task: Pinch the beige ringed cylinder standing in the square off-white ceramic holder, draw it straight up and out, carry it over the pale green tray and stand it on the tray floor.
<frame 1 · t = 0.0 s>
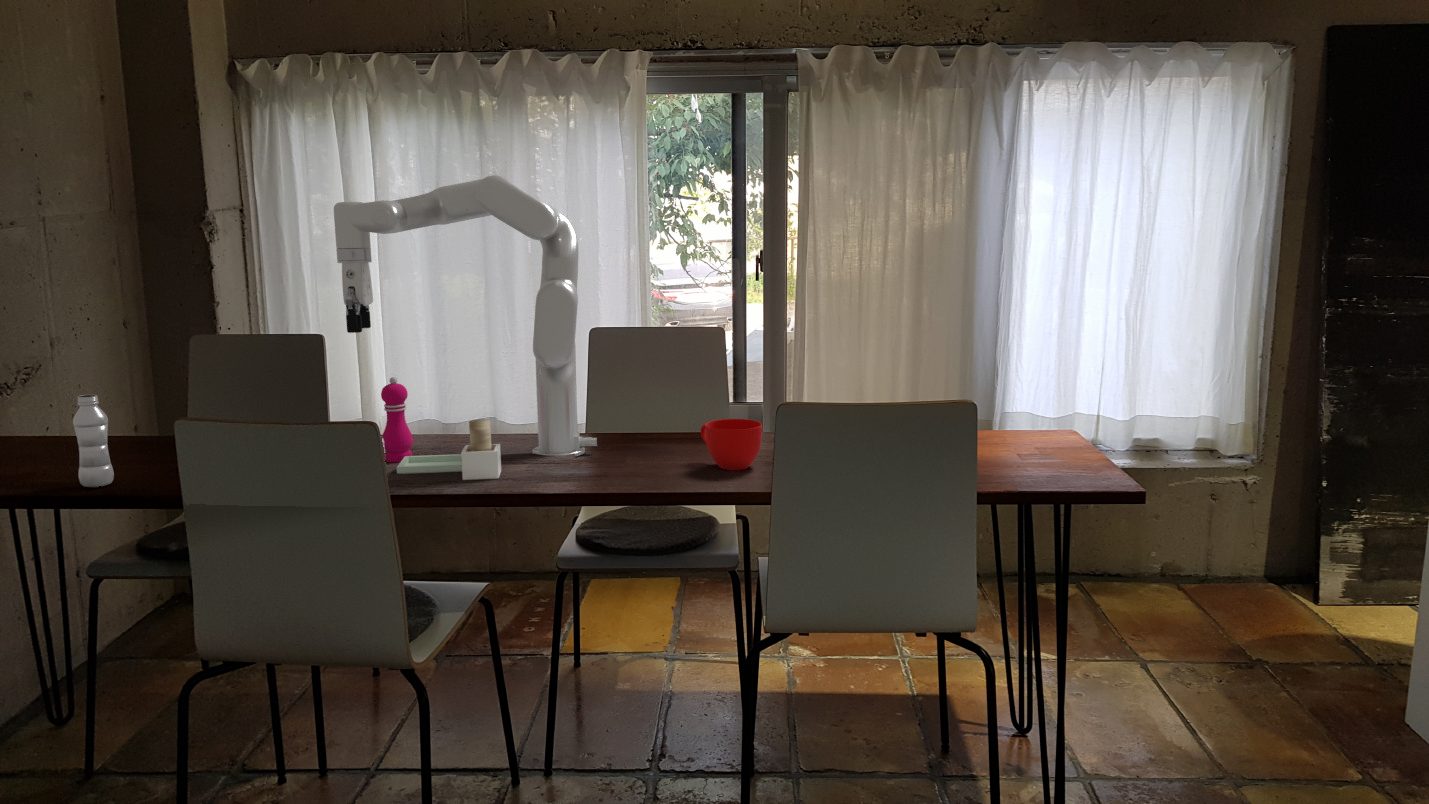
hand: (359, 330, 244), 31 cm above the table, tool pointing down, fingers open, 9 cm apart
holder: (482, 479, 231), on the table
paper bowls: (351, 475, 236), on the table
tray: (437, 471, 239), on the table
plastic bottle: (97, 487, 228), on the table
pepper mill: (398, 460, 251), on the table
beige ringed cylinder: (482, 474, 230), point 1 cm above the table, touching holder
ceramic cup: (727, 466, 241), on the table
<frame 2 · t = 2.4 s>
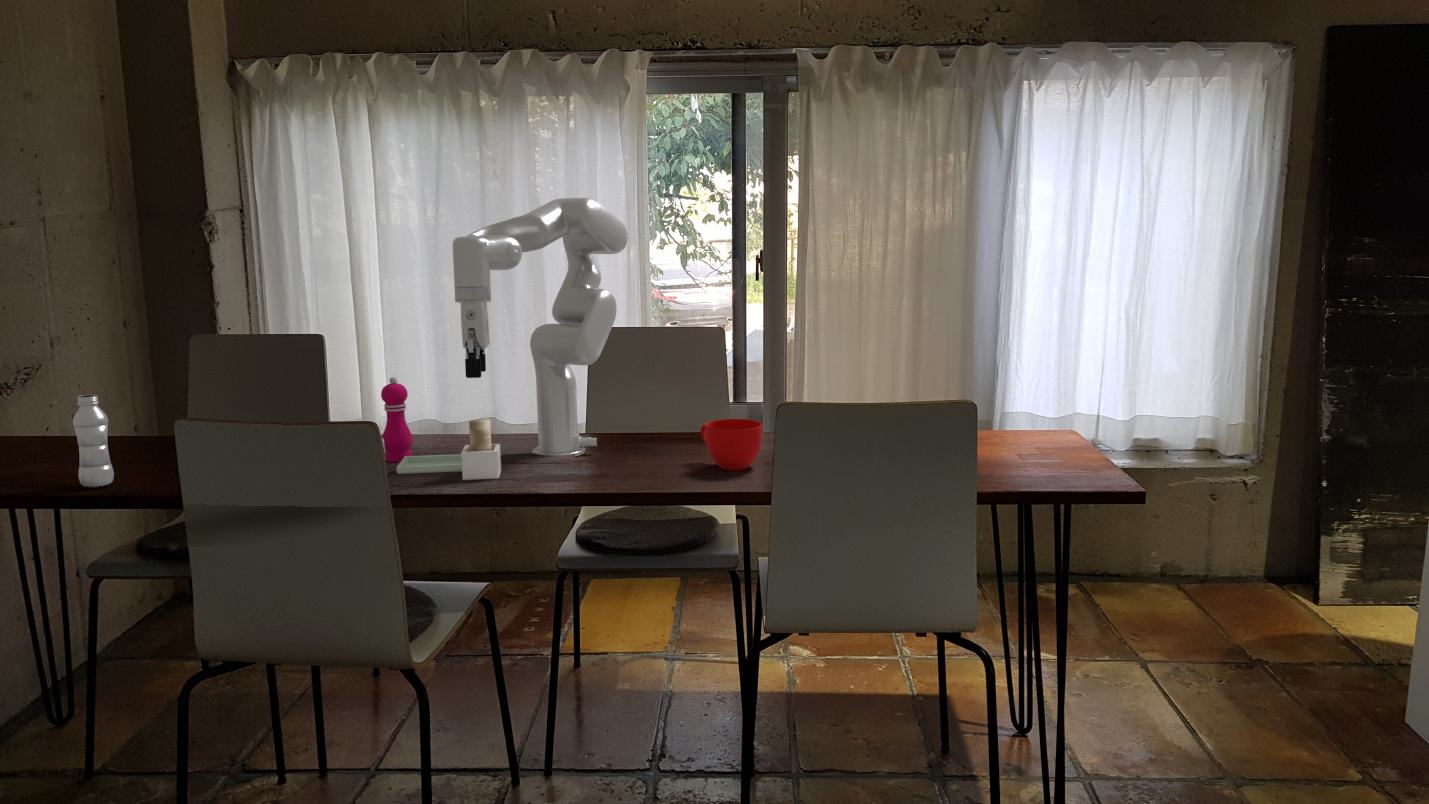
hand: (476, 374, 226), 23 cm above the table, tool pointing down, fingers open, 9 cm apart
nothing on the table moved.
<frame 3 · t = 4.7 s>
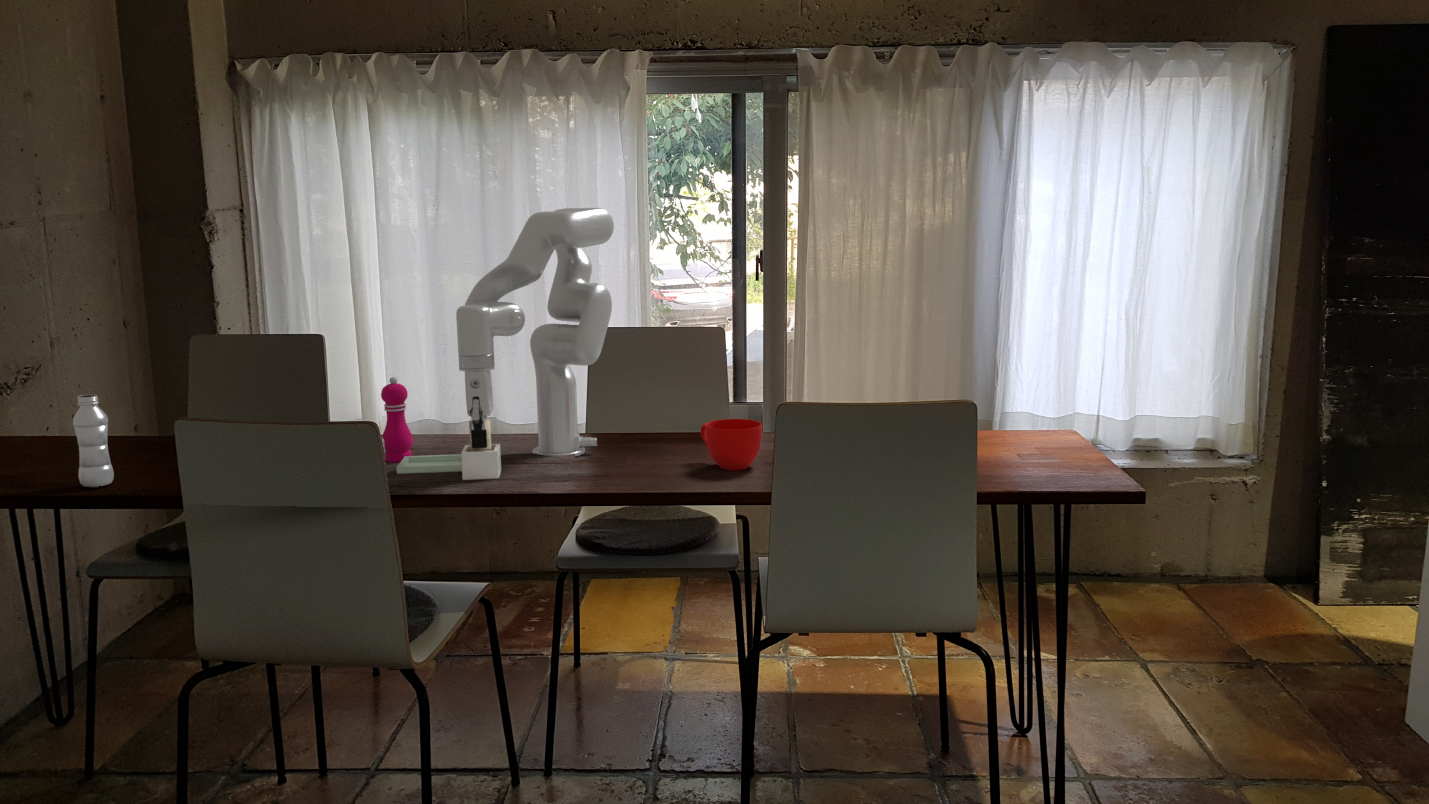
hand: (480, 444, 229), 8 cm above the table, tool pointing down, fingers closed on beige ringed cylinder, 4 cm apart
beige ringed cylinder: (482, 474, 230), point 1 cm above the table, touching gripper, holder
everything else where it was.
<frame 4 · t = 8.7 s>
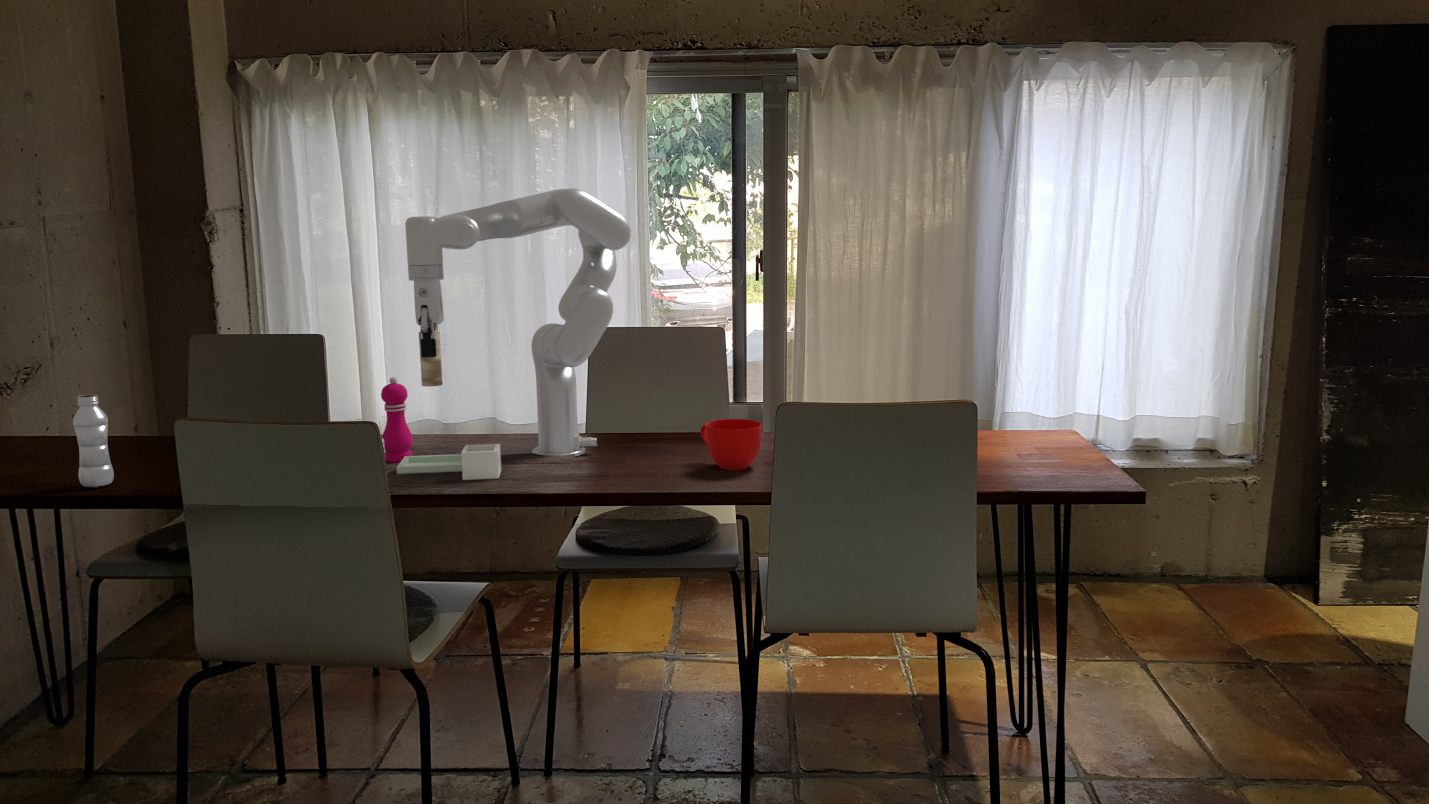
hand: (430, 354, 234), 27 cm above the table, tool pointing down, fingers closed on beige ringed cylinder, 4 cm apart
beige ringed cylinder: (432, 384, 235), point 20 cm above the table, touching gripper
everything else where it was.
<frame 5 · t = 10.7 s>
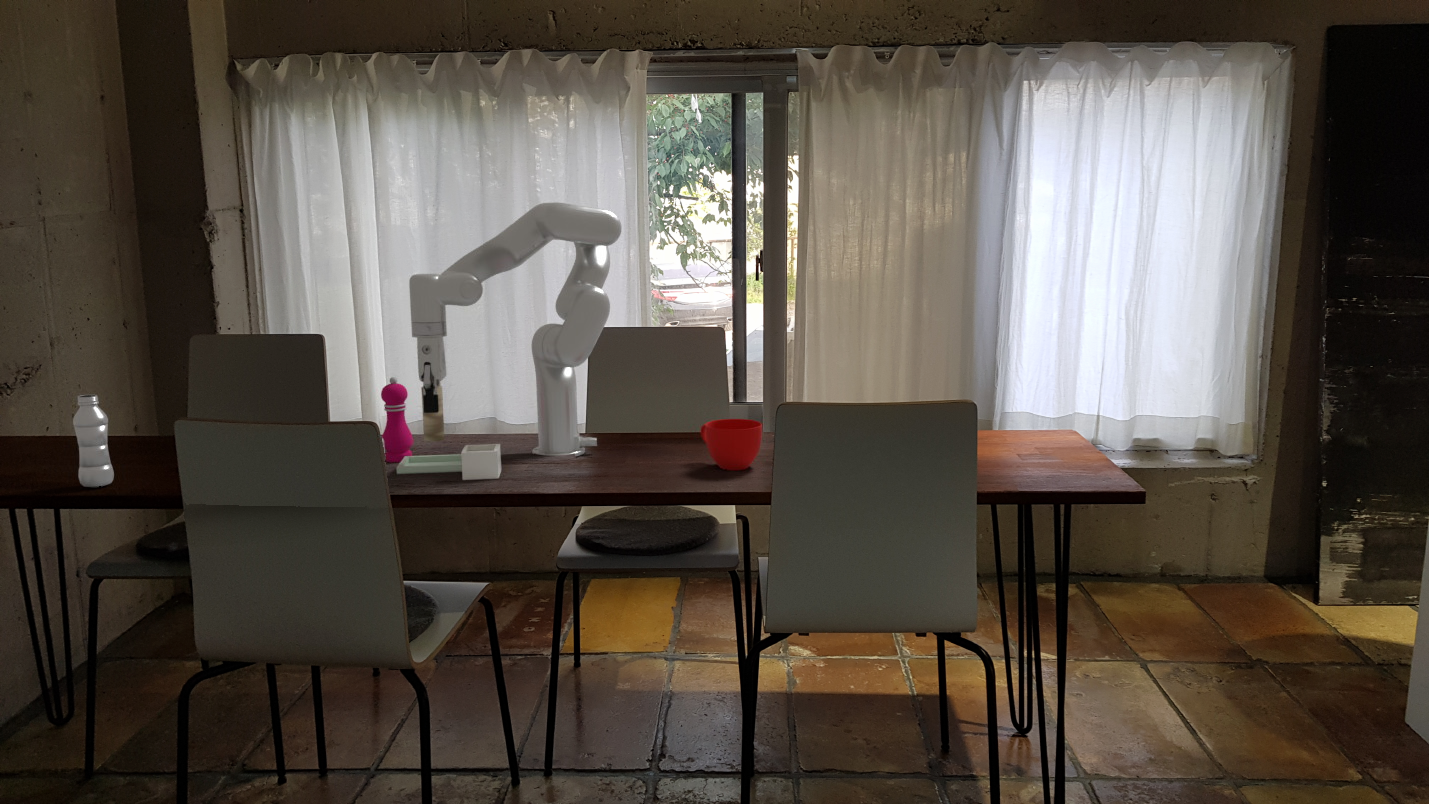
hand: (433, 409, 236), 14 cm above the table, tool pointing down, fingers closed on beige ringed cylinder, 4 cm apart
beige ringed cylinder: (434, 439, 237), point 7 cm above the table, touching gripper
everything else where it was.
when the fingers open (10 cm above the table, at t = 12.5 s): beige ringed cylinder drops 2 cm, resting on tray.
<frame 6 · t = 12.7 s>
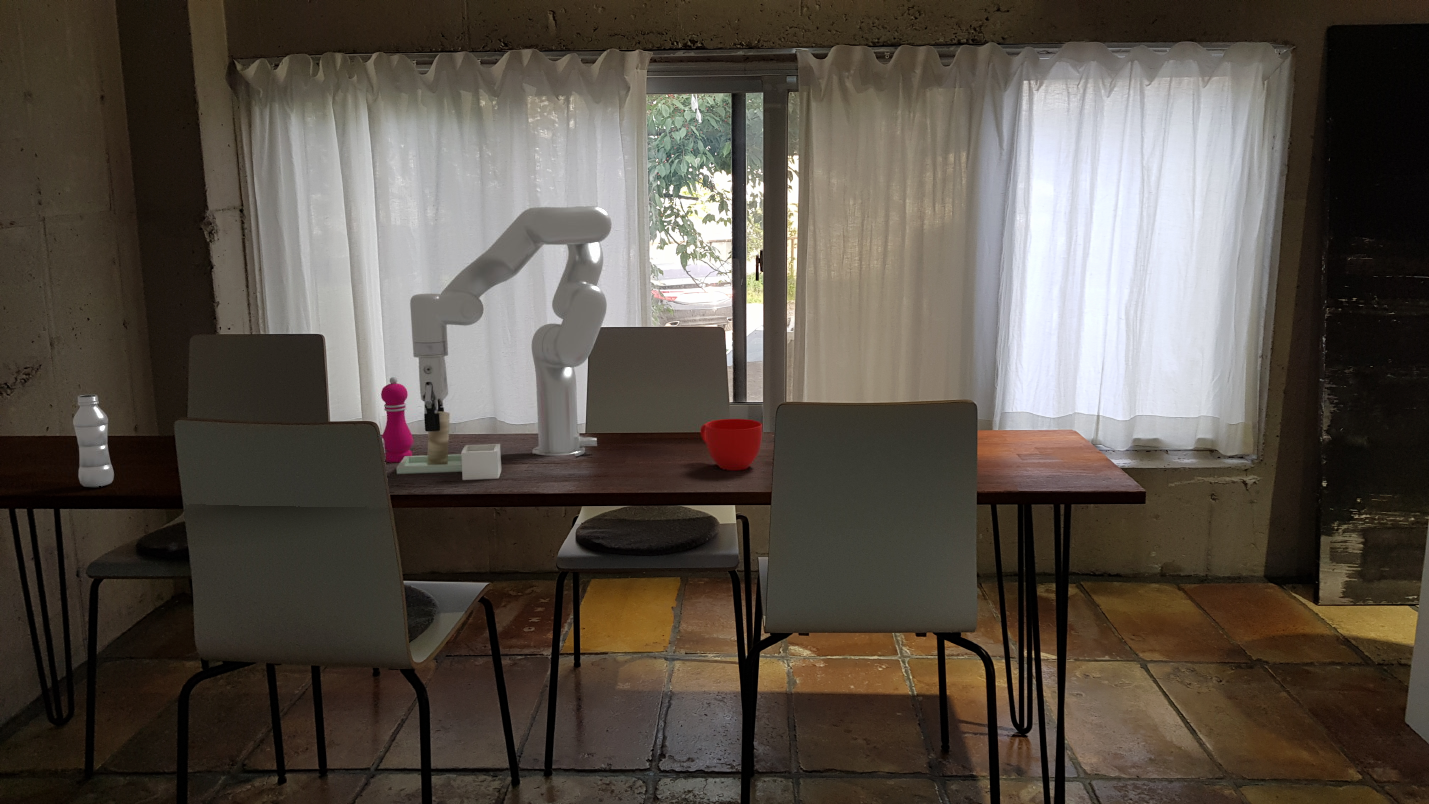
hand: (435, 427, 237), 10 cm above the table, tool pointing down, fingers open, 6 cm apart
beige ringed cylinder: (437, 464, 238), point 1 cm above the table, tilted 5°, touching tray
everything else where it was.
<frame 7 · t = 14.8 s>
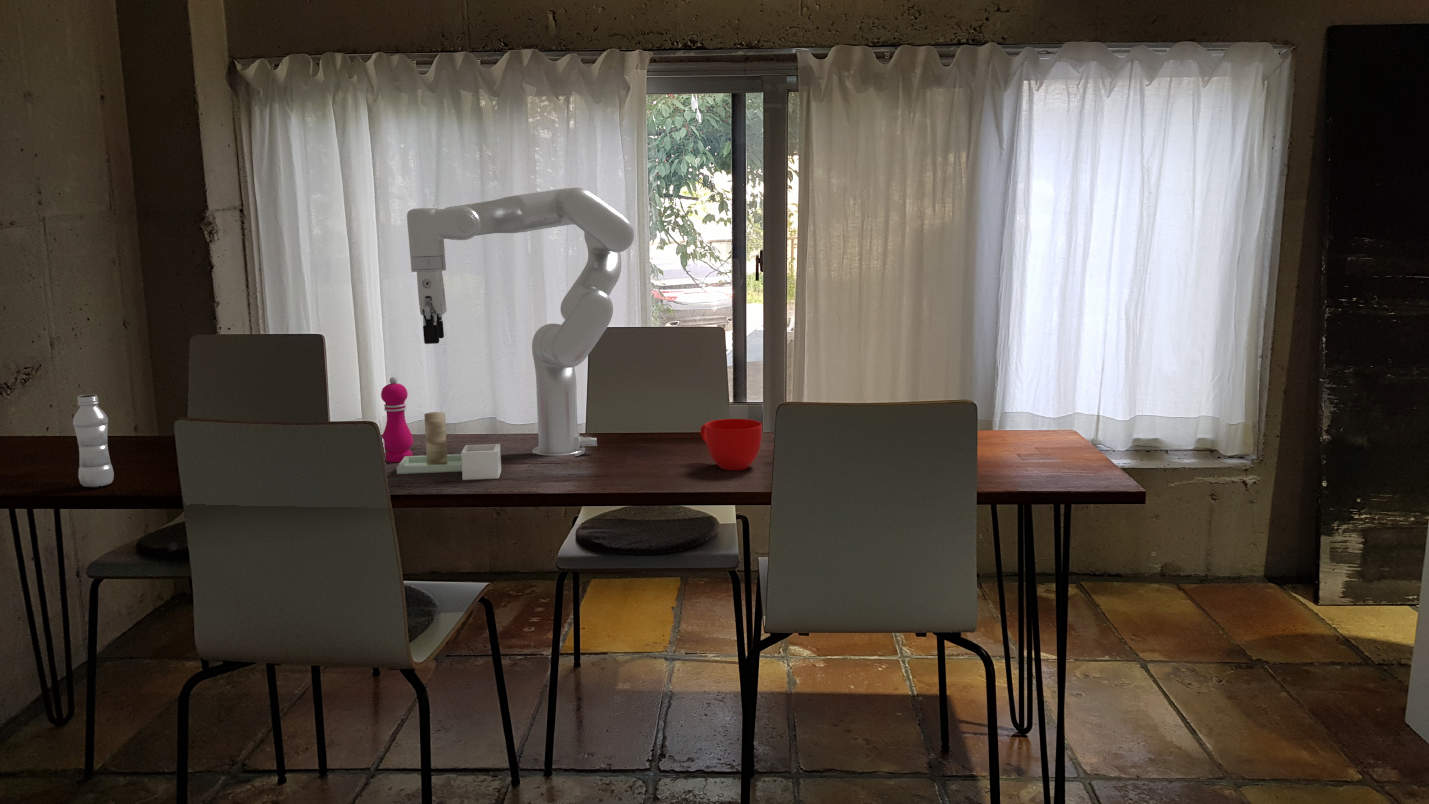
hand: (434, 340, 236), 30 cm above the table, tool pointing down, fingers open, 9 cm apart
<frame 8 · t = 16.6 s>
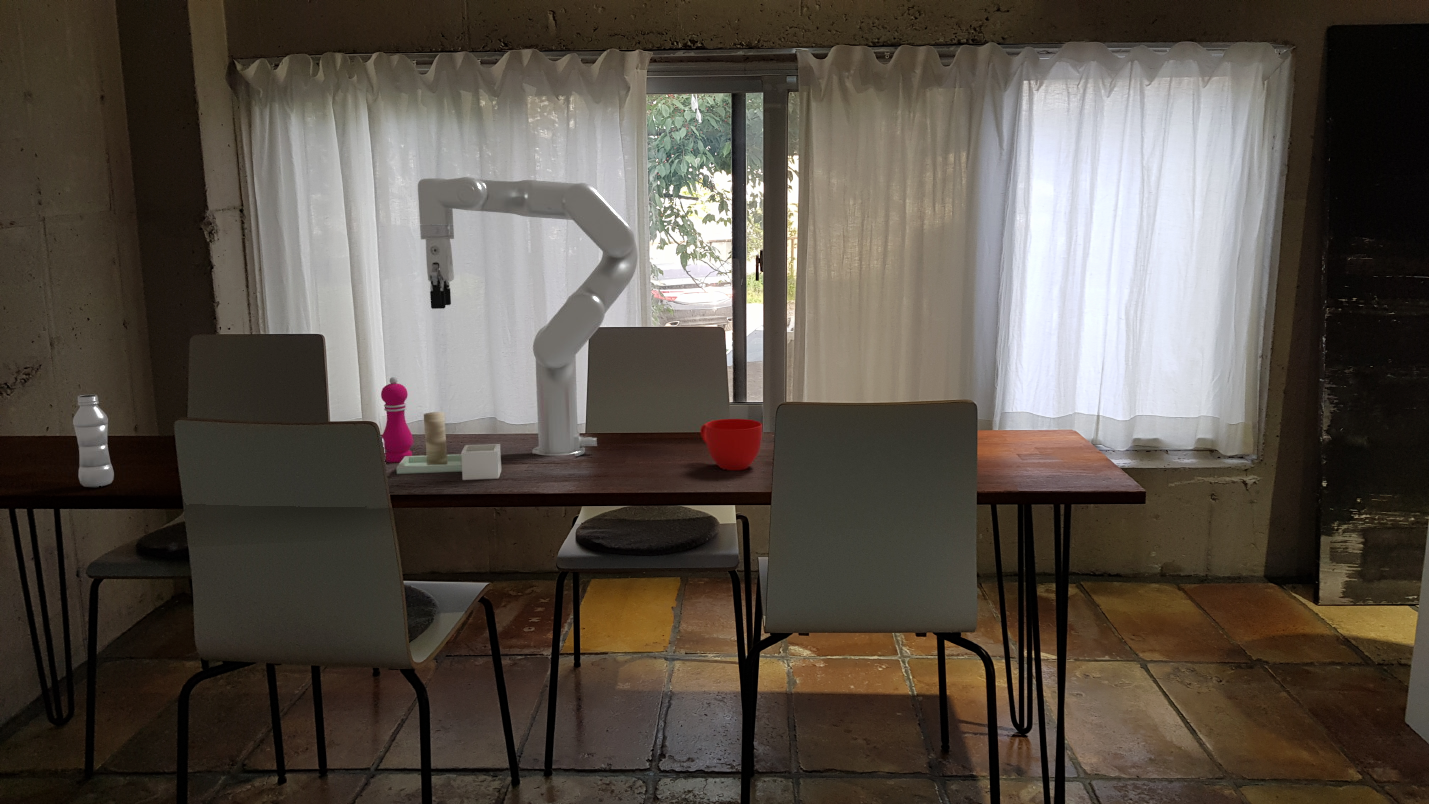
hand: (441, 306, 246), 36 cm above the table, tool pointing down, fingers open, 9 cm apart
nothing on the table moved.
at the end: beige ringed cylinder inside the target area on the tray (0.0 cm from its centre), point 1.2 cm above the tray's base; beige ringed cylinder tilted 1°; the gripper is holding nothing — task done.
